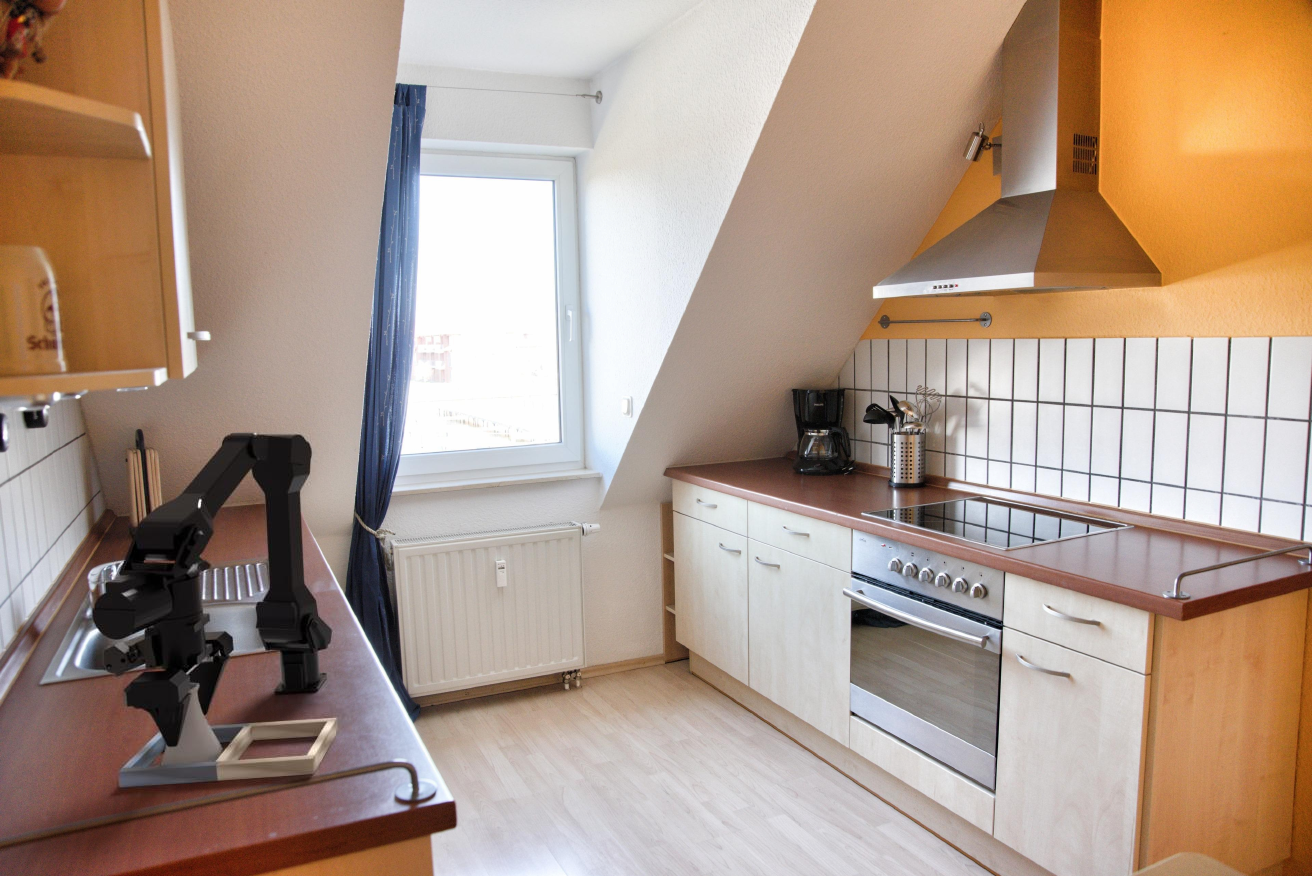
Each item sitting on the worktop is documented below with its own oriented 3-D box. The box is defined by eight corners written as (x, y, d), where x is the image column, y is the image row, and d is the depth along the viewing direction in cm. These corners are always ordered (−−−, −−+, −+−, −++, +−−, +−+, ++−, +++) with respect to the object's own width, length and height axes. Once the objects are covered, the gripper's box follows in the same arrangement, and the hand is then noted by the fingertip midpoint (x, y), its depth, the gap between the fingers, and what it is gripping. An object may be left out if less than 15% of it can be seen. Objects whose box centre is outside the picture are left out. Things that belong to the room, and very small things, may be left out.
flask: (232, 747, 119) (226, 675, 118) (206, 773, 112) (199, 697, 111) (178, 748, 119) (171, 677, 118) (148, 775, 112) (141, 699, 111)
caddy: (163, 743, 121) (162, 728, 121) (337, 731, 123) (336, 717, 123) (119, 787, 109) (118, 772, 109) (313, 774, 111) (312, 758, 111)
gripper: (145, 594, 122) (155, 704, 124) (70, 641, 103) (83, 769, 105) (230, 590, 123) (239, 699, 125) (171, 636, 104) (182, 762, 106)
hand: (188, 730), depth 115 cm, fingers open, 9 cm apart
